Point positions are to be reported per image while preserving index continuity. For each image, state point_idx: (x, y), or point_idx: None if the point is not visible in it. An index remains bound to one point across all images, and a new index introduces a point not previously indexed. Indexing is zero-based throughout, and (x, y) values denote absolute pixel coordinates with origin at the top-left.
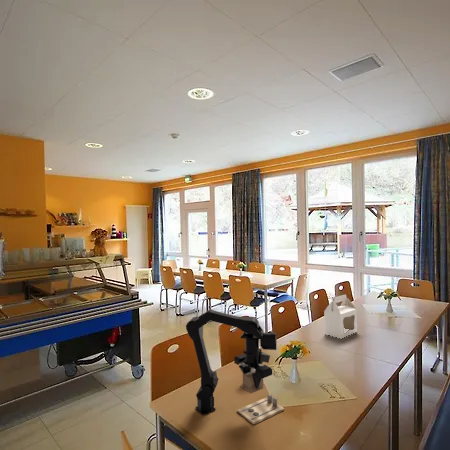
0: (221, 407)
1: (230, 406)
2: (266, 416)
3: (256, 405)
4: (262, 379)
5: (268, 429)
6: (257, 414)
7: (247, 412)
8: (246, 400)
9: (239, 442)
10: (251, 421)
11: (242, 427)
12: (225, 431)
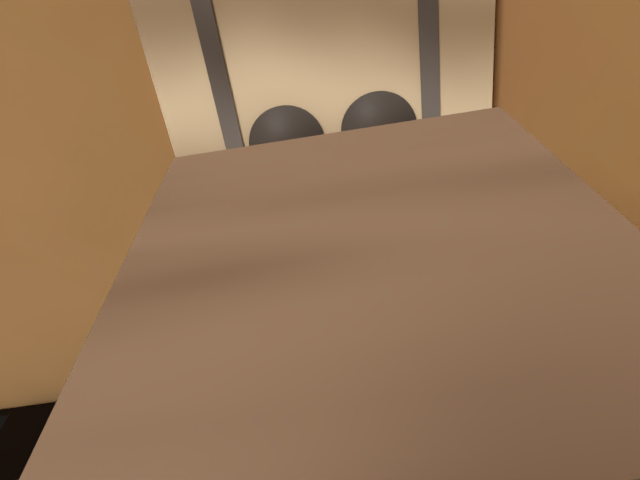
0: (82, 341)
1: (90, 269)
2: (489, 37)
3: (214, 16)
4: (637, 268)
5: (631, 125)
6: (397, 118)
7: None
8: (6, 47)
9: None
10: None
11: None
12: None
